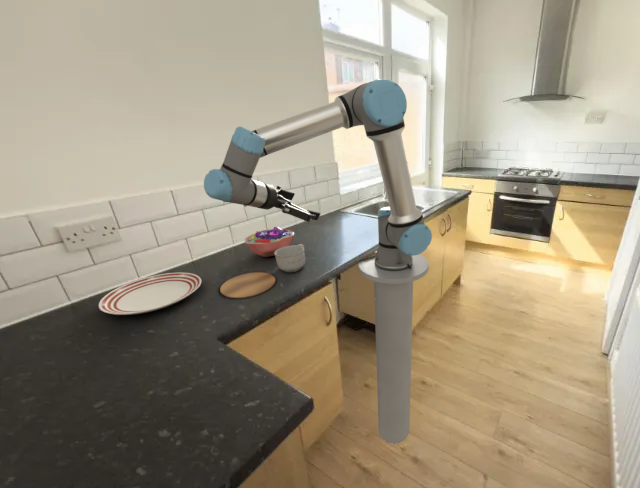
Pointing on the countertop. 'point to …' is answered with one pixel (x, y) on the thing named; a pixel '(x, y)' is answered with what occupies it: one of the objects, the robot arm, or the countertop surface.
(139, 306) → the dinner plate
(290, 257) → the teacup
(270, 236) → the cell model
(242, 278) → the cork mat
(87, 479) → the countertop surface
